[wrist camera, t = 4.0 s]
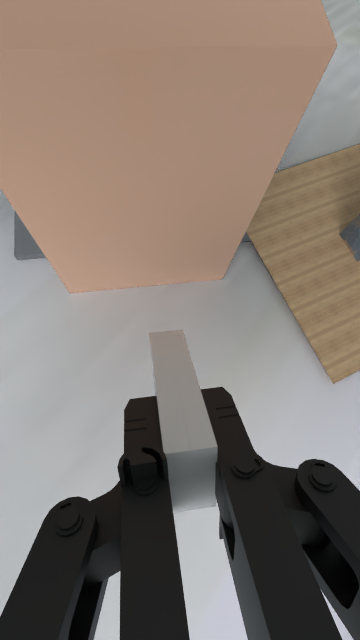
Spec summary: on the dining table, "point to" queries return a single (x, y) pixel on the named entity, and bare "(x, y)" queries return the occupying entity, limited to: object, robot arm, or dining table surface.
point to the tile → (150, 127)
